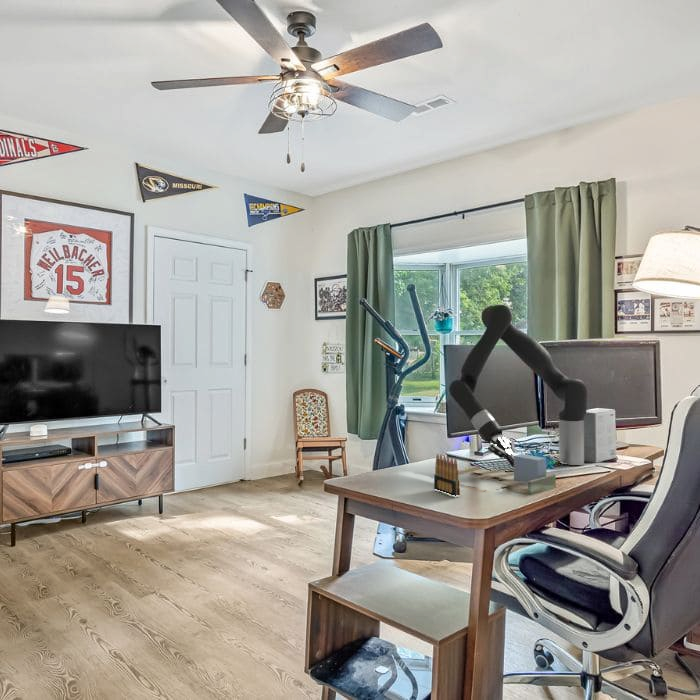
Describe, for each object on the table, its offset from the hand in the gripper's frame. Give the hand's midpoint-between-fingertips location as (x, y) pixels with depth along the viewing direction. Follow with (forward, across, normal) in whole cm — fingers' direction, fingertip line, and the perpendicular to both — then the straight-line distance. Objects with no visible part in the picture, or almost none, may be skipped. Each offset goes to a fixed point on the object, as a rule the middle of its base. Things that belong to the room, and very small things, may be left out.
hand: (516, 465), depth 190 cm
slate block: (+7, 0, -1) cm, 7 cm away
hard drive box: (+4, +57, +4) cm, 57 cm away
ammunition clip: (0, -29, +9) cm, 30 cm away
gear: (+2, +21, +6) cm, 22 cm away
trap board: (+1, -2, +7) cm, 7 cm away
